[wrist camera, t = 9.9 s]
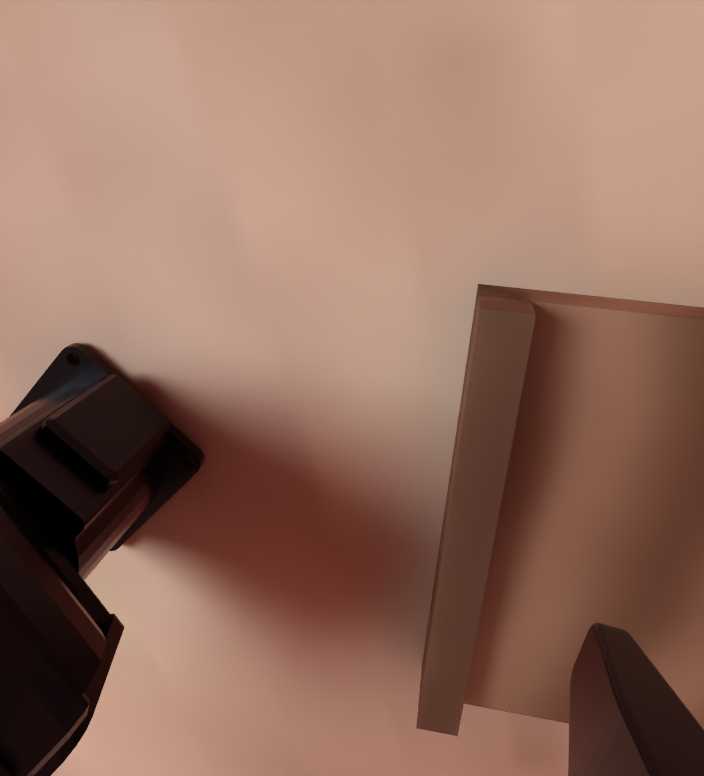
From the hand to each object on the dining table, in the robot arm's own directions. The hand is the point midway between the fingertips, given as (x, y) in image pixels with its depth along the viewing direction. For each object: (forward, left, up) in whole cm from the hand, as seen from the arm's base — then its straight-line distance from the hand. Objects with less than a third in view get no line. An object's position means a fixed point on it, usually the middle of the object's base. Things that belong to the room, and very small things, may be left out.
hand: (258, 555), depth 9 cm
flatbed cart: (+1, -11, -13) cm, 17 cm away
